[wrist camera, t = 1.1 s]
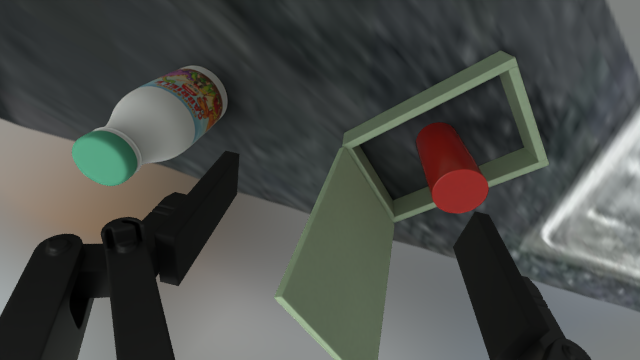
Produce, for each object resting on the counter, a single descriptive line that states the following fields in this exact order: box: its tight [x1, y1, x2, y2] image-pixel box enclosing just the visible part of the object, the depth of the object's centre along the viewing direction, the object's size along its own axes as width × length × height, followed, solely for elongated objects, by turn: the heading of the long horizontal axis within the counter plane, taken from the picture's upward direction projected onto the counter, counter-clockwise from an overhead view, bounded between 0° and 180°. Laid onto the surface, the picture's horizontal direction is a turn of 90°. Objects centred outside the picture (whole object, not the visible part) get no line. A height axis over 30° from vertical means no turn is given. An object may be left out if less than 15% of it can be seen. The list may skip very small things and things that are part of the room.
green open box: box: [342, 51, 549, 223], centre depth 39 cm, size 20×14×5 cm
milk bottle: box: [72, 65, 228, 186], centre depth 33 cm, size 8×8×20 cm
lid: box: [274, 147, 394, 360], centre depth 32 cm, size 21×14×1 cm
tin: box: [416, 122, 489, 213], centre depth 35 cm, size 5×5×12 cm
